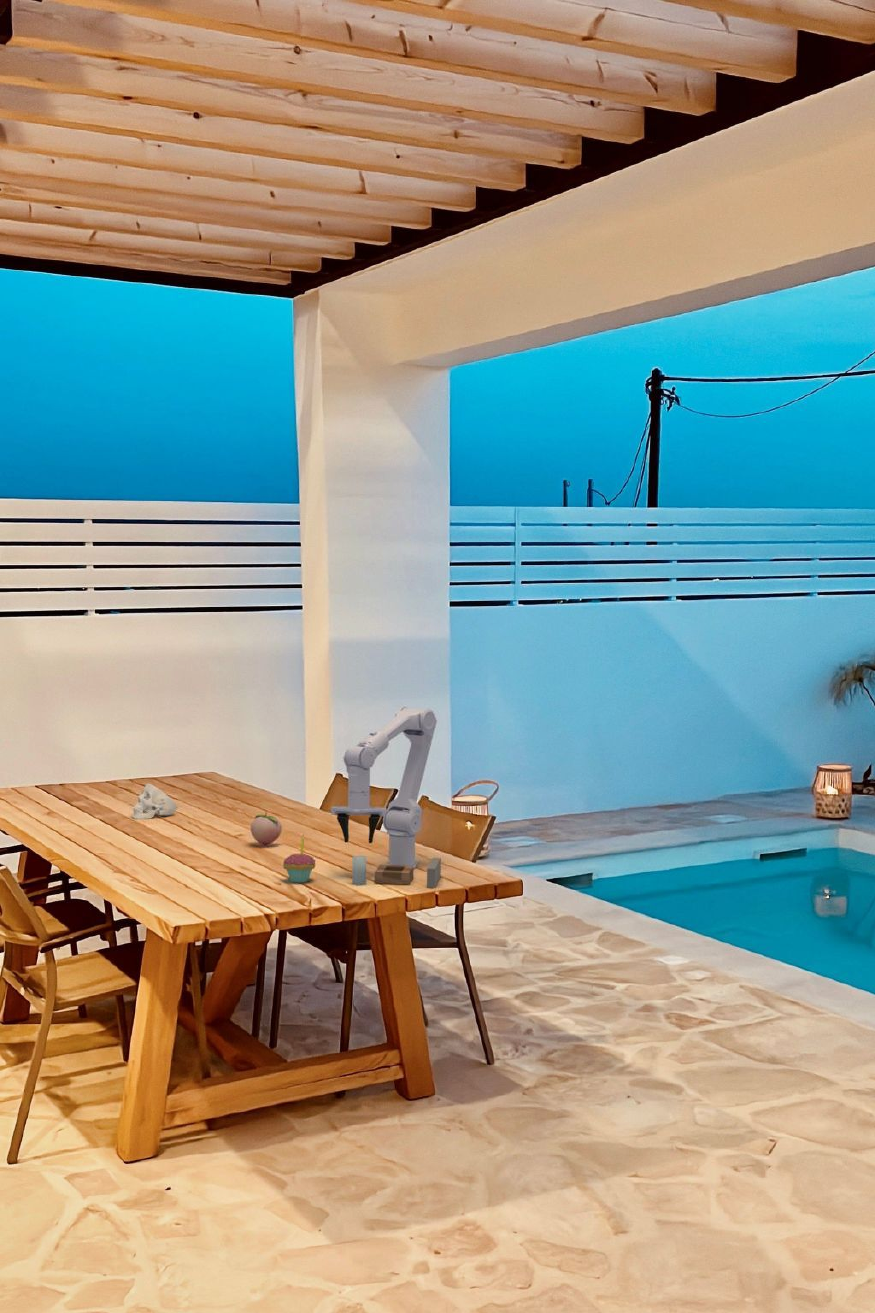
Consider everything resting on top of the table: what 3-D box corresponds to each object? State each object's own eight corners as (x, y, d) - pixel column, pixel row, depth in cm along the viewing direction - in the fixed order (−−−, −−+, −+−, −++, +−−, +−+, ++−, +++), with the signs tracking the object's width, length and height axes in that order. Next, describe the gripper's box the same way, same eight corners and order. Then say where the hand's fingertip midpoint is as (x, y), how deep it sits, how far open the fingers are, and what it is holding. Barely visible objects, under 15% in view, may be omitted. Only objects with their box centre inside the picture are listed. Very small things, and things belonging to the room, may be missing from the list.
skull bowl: (121, 812, 440) (139, 780, 443) (154, 831, 447) (172, 799, 450) (133, 817, 431) (152, 783, 435) (167, 836, 438) (185, 803, 442)
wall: (433, 876, 354) (433, 857, 354) (440, 876, 354) (440, 857, 354) (426, 887, 341) (427, 868, 340) (434, 888, 340) (434, 868, 340)
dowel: (353, 882, 347) (353, 855, 346) (367, 882, 346) (367, 856, 346) (351, 885, 343) (351, 858, 343) (364, 885, 343) (365, 858, 342)
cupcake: (292, 876, 353) (293, 831, 352) (321, 879, 350) (321, 833, 349) (277, 882, 345) (277, 837, 344) (306, 885, 342) (306, 839, 341)
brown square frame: (380, 875, 354) (380, 864, 353) (413, 877, 353) (413, 865, 352) (374, 883, 345) (374, 871, 344) (408, 884, 344) (409, 873, 343)
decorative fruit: (244, 846, 392) (244, 813, 391) (260, 842, 399) (260, 809, 399) (270, 849, 387) (270, 816, 387) (286, 845, 395) (286, 811, 394)
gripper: (329, 792, 348) (328, 844, 349) (383, 794, 346) (383, 846, 347) (334, 788, 355) (333, 839, 356) (387, 790, 353) (387, 840, 354)
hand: (358, 842), depth 352 cm, fingers open, 6 cm apart
